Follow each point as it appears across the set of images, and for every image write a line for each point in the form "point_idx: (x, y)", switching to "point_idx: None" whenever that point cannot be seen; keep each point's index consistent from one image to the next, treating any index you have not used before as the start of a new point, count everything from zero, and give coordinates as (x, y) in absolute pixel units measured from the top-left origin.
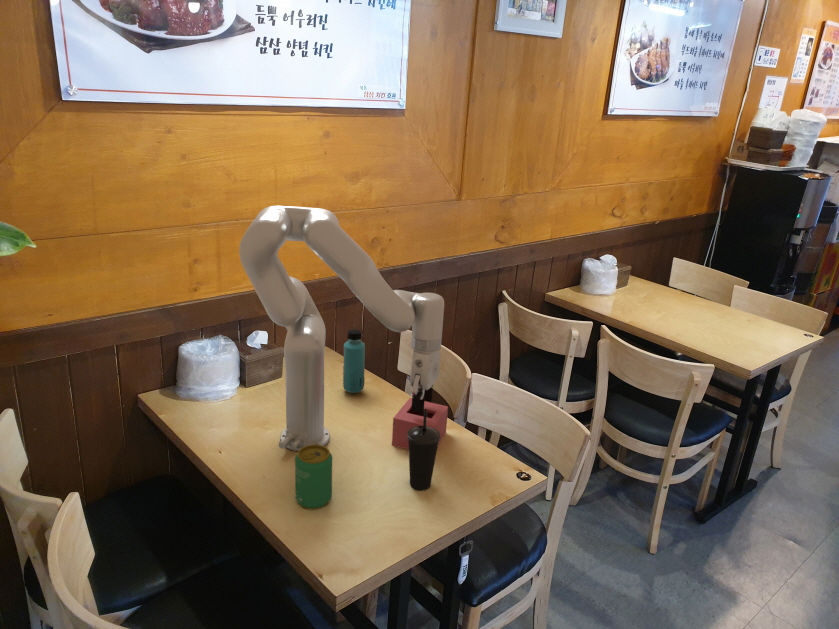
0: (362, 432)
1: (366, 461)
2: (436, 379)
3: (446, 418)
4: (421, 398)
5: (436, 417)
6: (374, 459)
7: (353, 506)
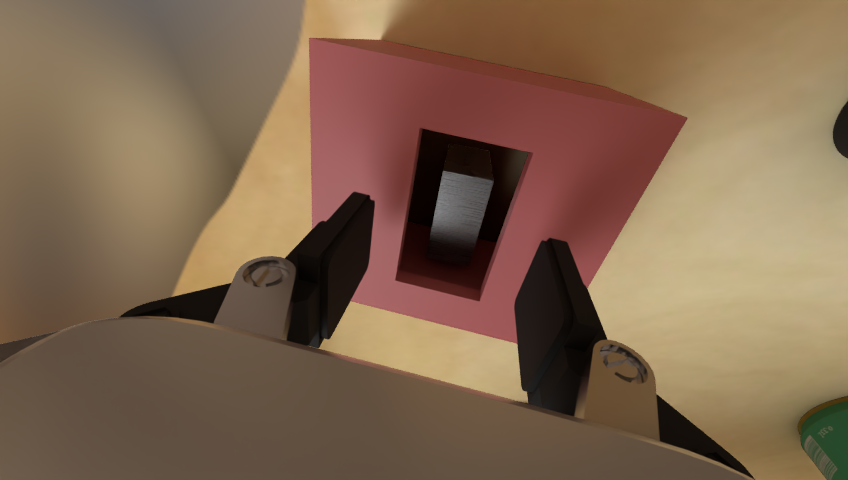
0: (465, 340)
1: (648, 321)
2: (261, 347)
3: (363, 42)
4: (647, 374)
5: (511, 116)
6: (635, 301)
7: None
